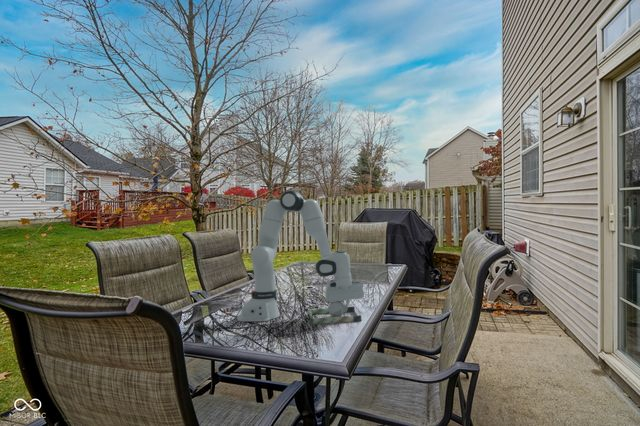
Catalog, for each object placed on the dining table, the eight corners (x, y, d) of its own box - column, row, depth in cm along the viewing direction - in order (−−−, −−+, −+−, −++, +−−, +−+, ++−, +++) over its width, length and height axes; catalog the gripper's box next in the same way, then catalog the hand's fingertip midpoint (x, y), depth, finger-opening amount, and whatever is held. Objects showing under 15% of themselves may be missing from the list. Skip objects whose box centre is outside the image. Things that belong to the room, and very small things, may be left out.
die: (348, 315, 184) (339, 299, 189) (346, 311, 176) (337, 294, 181) (335, 323, 183) (326, 307, 188) (332, 319, 175) (323, 303, 180)
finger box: (311, 325, 171) (310, 319, 171) (309, 314, 191) (308, 309, 191) (361, 321, 173) (361, 315, 173) (354, 311, 193) (354, 306, 193)
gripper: (361, 279, 187) (363, 305, 187) (323, 282, 185) (325, 308, 185) (364, 280, 181) (366, 307, 180) (324, 284, 179) (327, 311, 178)
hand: (345, 308), depth 182 cm, fingers closed, pressing on die
